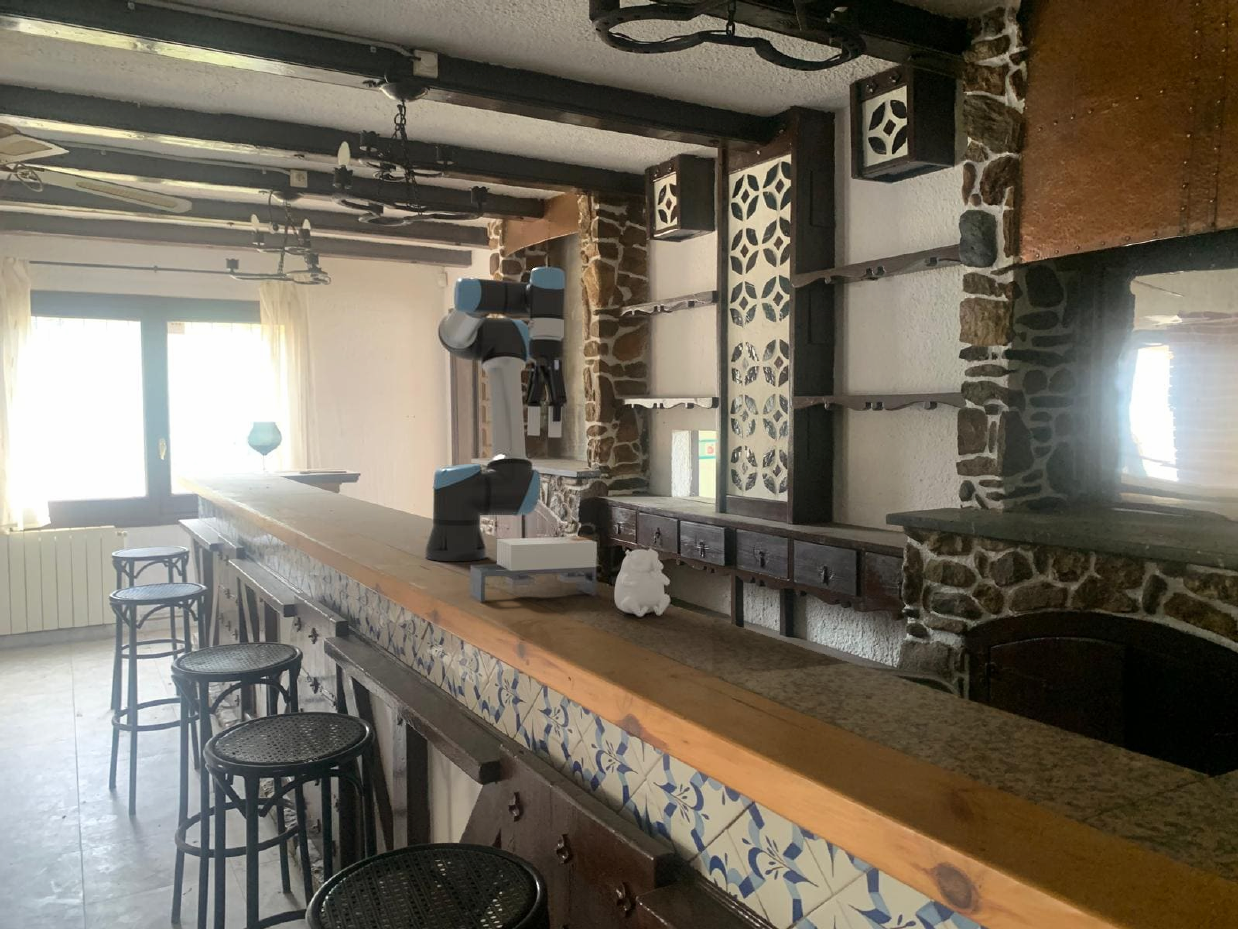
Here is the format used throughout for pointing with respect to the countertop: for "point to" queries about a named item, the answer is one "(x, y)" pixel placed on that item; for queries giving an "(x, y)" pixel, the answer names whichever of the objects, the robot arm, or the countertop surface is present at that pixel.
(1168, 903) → the countertop surface
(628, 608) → the figurine
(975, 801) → the countertop surface
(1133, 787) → the countertop surface
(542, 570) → the rail
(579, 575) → the white rectangular block
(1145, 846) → the countertop surface
